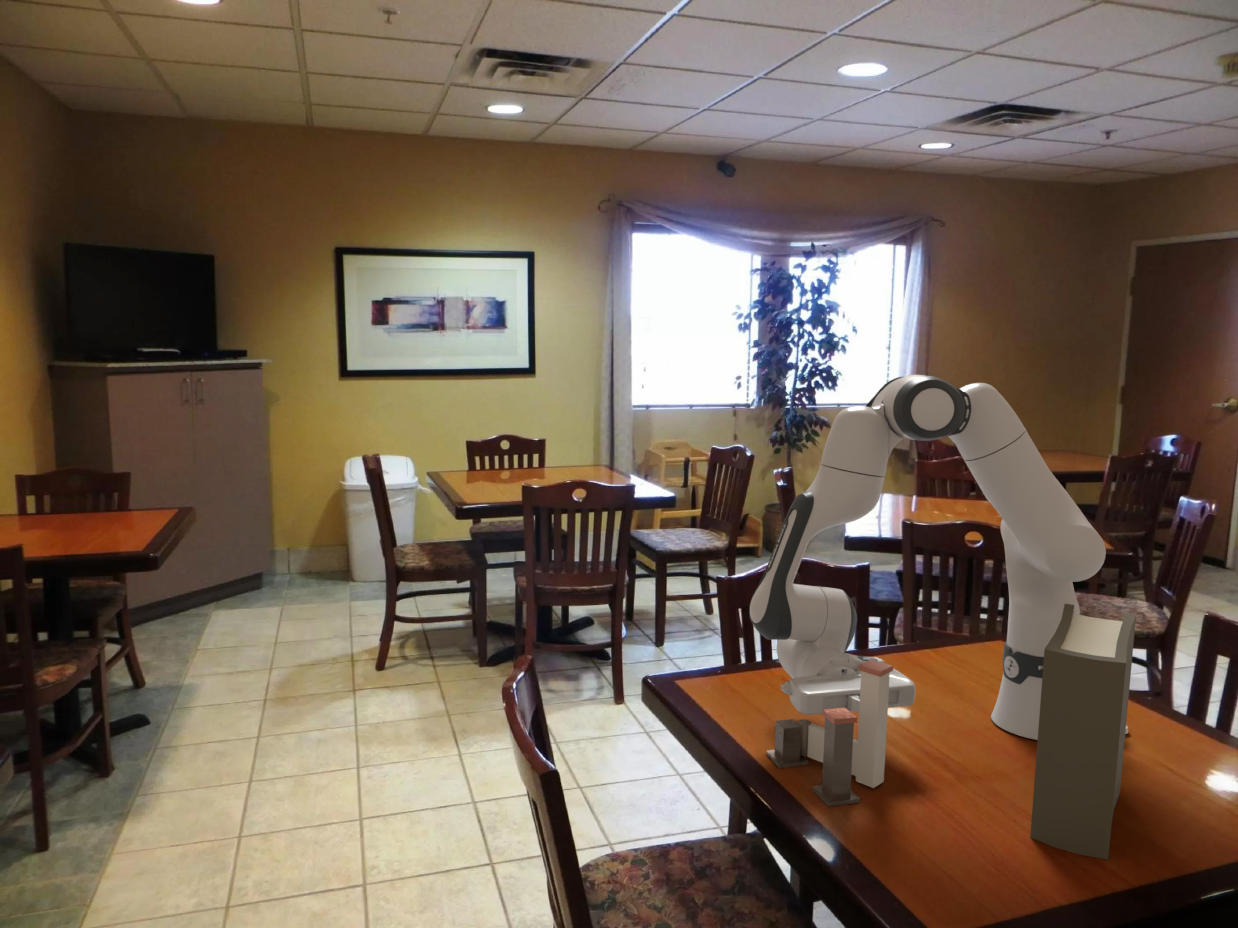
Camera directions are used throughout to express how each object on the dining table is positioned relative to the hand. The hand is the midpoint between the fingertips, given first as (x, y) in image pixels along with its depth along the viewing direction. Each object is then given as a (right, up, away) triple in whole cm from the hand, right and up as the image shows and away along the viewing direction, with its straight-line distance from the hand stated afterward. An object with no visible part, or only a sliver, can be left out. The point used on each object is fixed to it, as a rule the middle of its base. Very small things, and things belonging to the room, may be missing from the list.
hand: (876, 712), depth 135 cm
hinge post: (-12, -9, +7) cm, 17 cm away
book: (+26, -12, -10) cm, 30 cm away
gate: (-5, -10, +3) cm, 11 cm away
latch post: (-7, -11, -5) cm, 14 cm away
